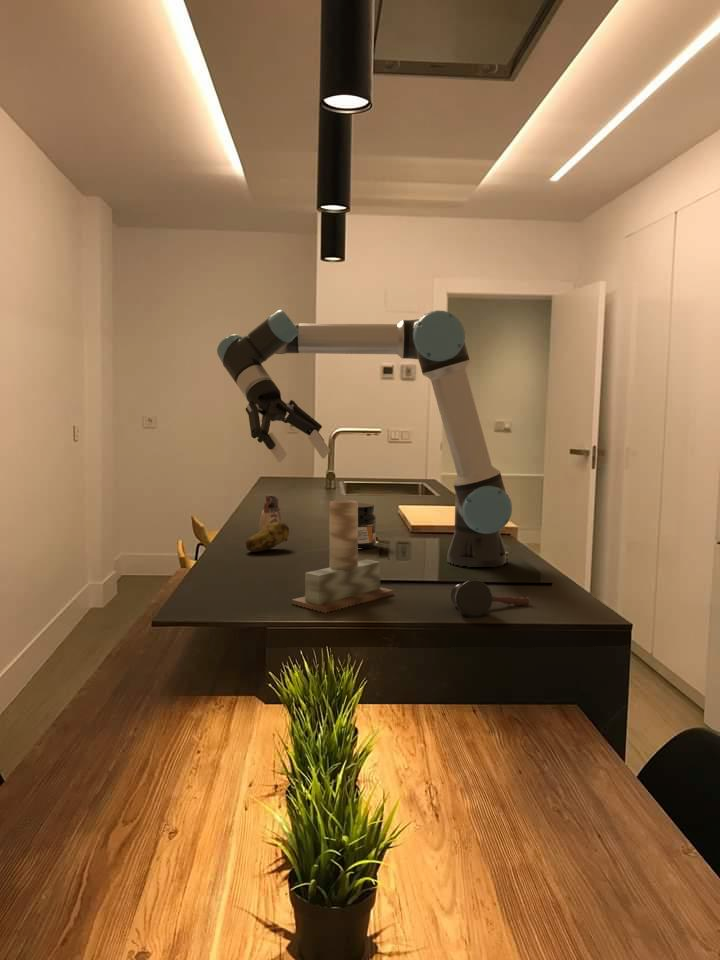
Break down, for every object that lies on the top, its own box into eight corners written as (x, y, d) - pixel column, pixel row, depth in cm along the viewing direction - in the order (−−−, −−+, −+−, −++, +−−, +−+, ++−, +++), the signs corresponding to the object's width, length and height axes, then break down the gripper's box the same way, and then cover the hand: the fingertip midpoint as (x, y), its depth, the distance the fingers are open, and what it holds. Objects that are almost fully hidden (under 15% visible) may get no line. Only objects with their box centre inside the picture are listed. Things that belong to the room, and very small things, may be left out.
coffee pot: (454, 616, 165) (443, 611, 174) (540, 624, 168) (525, 619, 177) (458, 578, 166) (446, 575, 174) (544, 587, 169) (528, 584, 177)
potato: (240, 549, 234) (240, 521, 233) (285, 546, 239) (285, 518, 238) (248, 555, 227) (248, 525, 226) (293, 552, 231) (293, 523, 231)
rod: (352, 563, 183) (353, 499, 181) (361, 569, 177) (361, 503, 175) (326, 565, 181) (326, 500, 179) (333, 570, 175) (334, 504, 174)
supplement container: (364, 551, 233) (364, 508, 231) (332, 547, 238) (332, 505, 237) (382, 545, 242) (382, 504, 240) (351, 542, 247) (351, 501, 246)
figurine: (287, 531, 264) (286, 494, 262) (272, 535, 258) (272, 496, 256) (269, 529, 267) (269, 492, 266) (254, 532, 261) (254, 494, 260)
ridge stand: (359, 587, 191) (359, 556, 190) (393, 594, 184) (393, 563, 183) (291, 604, 175) (291, 571, 174) (325, 613, 168) (325, 578, 168)
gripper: (290, 400, 208) (335, 463, 199) (210, 401, 189) (255, 471, 181) (305, 378, 204) (351, 441, 195) (224, 377, 185) (271, 448, 177)
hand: (305, 456), depth 188 cm, fingers open, 13 cm apart
